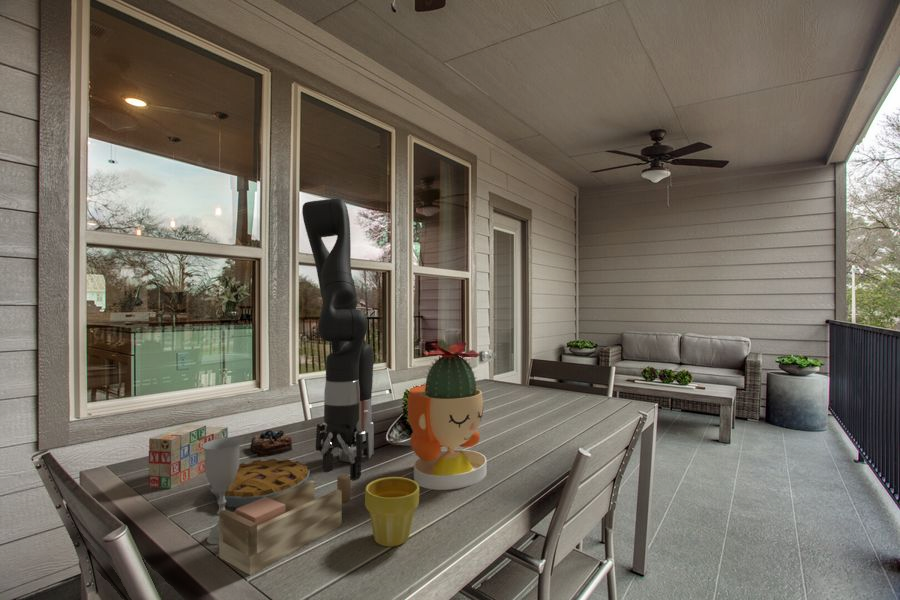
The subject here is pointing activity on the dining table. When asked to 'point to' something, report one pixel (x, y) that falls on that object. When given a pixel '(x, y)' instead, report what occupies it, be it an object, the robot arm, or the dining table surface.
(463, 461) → the potted cactus
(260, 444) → the pastry
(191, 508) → the dining table surface
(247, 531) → the light wooden box
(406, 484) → the plant pot
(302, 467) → the pie
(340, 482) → the pull block
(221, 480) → the chalice
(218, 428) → the stack of blocks
